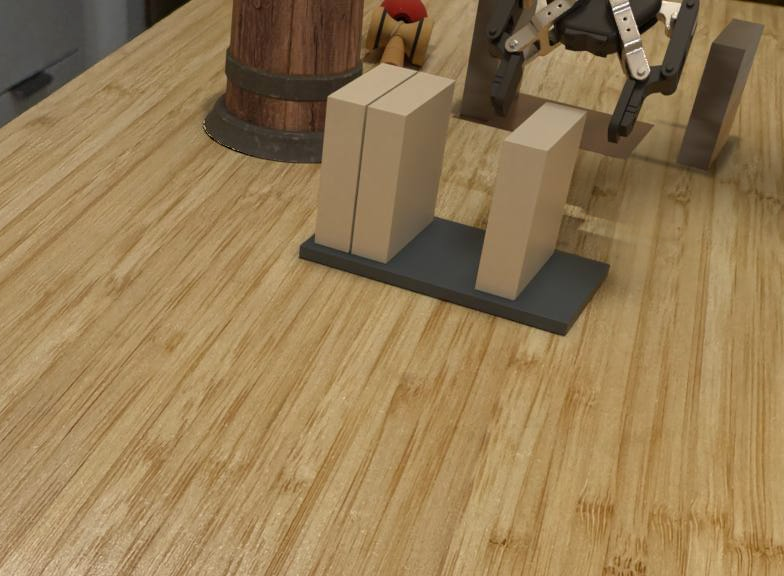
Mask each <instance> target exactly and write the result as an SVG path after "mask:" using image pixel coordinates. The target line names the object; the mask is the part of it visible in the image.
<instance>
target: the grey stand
mask: <svg viewBox="0 0 784 576" xmlns="http://www.w3.org/2000/svg"><path fill="white" fill-rule="evenodd" d="M498 1H499V0H478V2H477V8H476V14H475V21H474V26H473V32H472V38H471V45H470V50H469V51H470V52H469V57H468V63H467V68H466V69H467V70H466V76H465V81H464V87H463V92H462V99H461V105H460V109H459V110H458V111H457V112H456V113H454V114H452V115H451V118H453V119H459V120H462V121H465V122H470V123H474V124H478V125H483V126H486V127H490V128H495V129H498V130H502V131H507V132H510V133H512V132H513V131H514V130H515V129H517V128H518V127H519V126H520V125H521V124H522V123H523V122H524V121H526V120H527V119H528V118H529V117H530V116H531V115H532V114H533V113H535V112H536V111H537V110H538V109H539V108H540V107H541V106H542V105H544V104H545V103H546V102H551V103H555V104H559V105H563V106H568V107H572V108H576V109H580V110H584V111H587V116H586V120H585V124H584V129H583V133H582V137H581V141H580V145H579V149H578V150H583V151H586V152H591V153H596V154H599V155H603V156H607V157H612V158H616V159H620V160H624V161H626V160H627V159H628V158H629V156H630V155H631V154H632V153H633V152H634V150H635V149H637V147H638V146H639V144H640V143H641V142H642V141H643V140H644V139H645V137H646V136H648V134H649V133H650V131H651V130H652V129H653V128H654V127H655V123H654V124H653V123H649V122H645V121H641V120H636V123H635V125H634V128H633V130H632V132H631V133H630V134H629V135H628V137H622V136H621V137H620V140H619V142H618V144H615V143H611V142H608V126H609V123H610V120H611V118H612V115H613V114H611V113H607V112H602V111H598V110H594V109H589V108H586V107H581V106H577V105H574V104H569V103H565V102H561V101H557V100H552V99H548V98H544V97H539V96H536V95H531V94H526V93H522V92H521V88H522V83H523V77H524V72H525V68H526V66H524V67H523V68H522V71H523V75H522V78H521V80H520V83H519V85H518V88H517V90H516V93H515V95H514V98H513V101H512V103H511V106H510V108H509V111H508V113H507V116H506V117H505V118H502V117H498V116H495V111H494V107H492V104H491V98H490V88H491V85H492V83H493V80H494V78H495V75H496V72H497V70H498V67H499V65H500V62H501V60H500V59H499V58H492V57H490V56H489V54H488V45H487V39H486V37H485V29H486V27H487V24H488V22H489V20H490V18H491V16H492V14H493V11H494V9H495V7H496V5H497V3H498ZM538 2H539V1H538V0H536V1H535V2H534V4H533V5H532V6H531V8H530V9H528V10H526V9H525V8H524V10H523V12H522V14H521V16H520V18H519V21H518V23H517V25H516V27H515V29H514V32H513V34H515V33H516V32H518V31H519V30H520V29H522V28H523V27H525V26H526V25H527V24H528V23H529V22H530V20H531V18H532V17H533V16H534V15H535V14H536V13H537V12H536V11H537V8H538V7H537V6H538ZM764 29H765V24H764V23H759V22H754V21H748V20H744V19H738V18H732V19H731V20H730V21H729V23H728V24H727V25H726V26H725V27H724V28H723V30H722V31H721V32H720V33H719V34H718V35H717V36H716V37H715V39H714V40H713V41H712V42H711V45H710V48H709V52H708V55H707V58H706V61H705V64H704V68H703V71H702V74H701V78H700V80H699V85H698V88H697V91H696V95H695V99H694V101H693V105H692V108H691V112H690V115H689V119H688V122H687V125H686V128H685V131H684V135H683V139H682V142H681V144H680V148H679V152H678V155H677V158H676V162H675V164H677V165H681V166H685V167H690V168H693V169H697V170H702V171H706V172H707V171H709V169H710V168H711V166H712V165H713V163H714V161H715V160H716V159H717V157H718V156H719V154H720V152H721V151H722V150H723V148H724V147H725V145H726V143H728V140H729V137H730V134H731V130H732V128H733V124H734V121H735V118H736V115H737V112H738V109H739V106H740V103H741V100H742V97H743V94H744V91H745V88H746V84H747V81H748V79H749V76H750V72H751V69H752V66H753V63H754V60H755V57H756V54H757V51H758V49H759V45H760V41H761V39H762V35H763V32H764ZM513 34H512V35H513Z"/></svg>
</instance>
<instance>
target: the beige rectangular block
mask: <svg viewBox="0 0 784 576" xmlns="http://www.w3.org/2000/svg"><path fill="white" fill-rule="evenodd" d="M586 116H587V111H584V110H580V109H576V108H572V107H568V106H563V105H559V104H555V103H551V102H546V103H545V104H544V105H542V106H541V107H540V108H539V109H538V110H537V111H536V112H535V113H533V114H532V115H531V116H530V117H529V118H528V119H527V120H526V121H524V122H523V123H522V124H521V125H520V126H519V127H518V128H517V129H515V130H514V131H513V132H510V133H509V134H508V135H507V136H506V137H505V138H504V139H503V142H502V146H501V152H500V156H499V162H498V167H497V171H496V172H497V173H496V176H495V177H496V178H495V182H494V188H493V192H492V193H493V194H492V198H491V203H490V209H489V213H488V218H487V224H486V228H485V230H486V233H485V238H484V244H483V249H482V254H481V259H480V264H479V269H478V274H477V280H476V285H475V289H476V290H479V291H483V292H486V293H490V294H493V295H497V296H500V297H503V298H507V299H510V300H515V299H516V298H517V297H518V296H519V294H520V293H521V292H522V291H523V290H524V288H525V287H526V286H527V285H528V284H529V282H530V281H531V280H532V279H533V277H534V276H535V275H536V274H537V273H538V271H539V270H540V269H541V268H542V267H543V265H544V264H545V263H546V262H547V261H548V259H549V258H550V257H551V256H552V255H553V253H554V250H555V249H556V245H557V241H558V236H559V234H560V228H561V225H562V220H563V217H564V212H565V206H566V204H567V199H568V195H569V191H570V187H571V182H572V179H573V174H574V171H575V165H576V161H577V158H578V154H579V150H580V149H579V145H580V141H581V137H582V133H583V129H584V124H585V120H586Z"/></svg>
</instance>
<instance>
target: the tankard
mask: <svg viewBox="0 0 784 576" xmlns="http://www.w3.org/2000/svg"><path fill="white" fill-rule="evenodd" d="M364 8H365V0H232V11H231V24H230V37H229V38H230V39H229V46H228V47H227V49H226V51H225V61H224V62H225V64H224V65H225V66H224V74H225V76H226V87H225V92H224V93H222V94H221V95H220V96H219V97H218V98H217V99H216V101H215V102H214V104H213V107H212V109H211V111H209V112H208V113H209V114H208V113H207V114H208V115H207V114H206V115H207V116H206V115H205V116H206V118H205V117H204V118H205V123H204V125H205V127H206V131H207V132H208V134H210V135H211V136H212V138H214V139H215V140H216V141H217V142H216V141H215V140H214V141H215V142H216V143H218V141H219V142H220V143H221V144H224V145H226V146H229V147H230V148H234V149H235V150H239V151H240V152H243V153H242V154H244V153H245V154H244V155H247V154H248V155H247V156H251V155H253V156H252V157H254V158H255V157H256V158H259V159H264V160H270V161H276V162H277V161H278V162H287V163H288V162H289V163H300V164H301V163H302V164H305V163H306V164H307V163H314V164H315V163H317V164H318V163H322V153H323V142H324V131H325V120H326V109H327V97H328V96H329V95H331V94H332V93H334V92H335V91H337V90H339V89H340V88H342V87H344V86H345V85H347V84H349V83H350V82H352V81H354V80H355V79H357V78H359V77H360V76H362V75H363V71H364V70H363V69H364V63H363V60H362V59H361V52H362V37H363V23H364ZM208 134H207V135H208ZM221 144H220V145H221ZM240 152H239V153H240Z"/></svg>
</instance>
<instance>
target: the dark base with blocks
mask: <svg viewBox="0 0 784 576" xmlns="http://www.w3.org/2000/svg"><path fill="white" fill-rule="evenodd" d="M456 82H457V81H456V79H452V78H448V77H445V76H444V77H443V76H439V75H436V74H431V73H426V72H422V71H419V72H418V71H417V70H414V69H410V68H405V67H403V68H402V67H398V66H393V65H389V64H385V63H382V64H380V65H379V64H378V65H377V66H375V67H373V68H372V69H370V70H369V71H367V72H365V73H364V74H363V73H362V76H360V77H359V78H357V79H355V80H354V81H352V82H350V83H349V84H347V85H345V86H344V87H342V88H340V89H339V90H337V91H335V92H334V93H332V94H331V95H329V96H328V97H327V109H326V120H325V131H324V142H323V153H322V162H321V164H320V165H321V166H320V177H319V186H318V188H319V189H318V200H317V212H316V221H315V232H314V233H313V234H312V235H311V236H310V237H308V238H307V239H306V240H305V241H303V242H302V243H301V244H299V250H298V251H299V252H298V257H299V258H301V259H303V260H309V261H312V262H314V263H318V264H322V265H325V266H328V267H332V268H335V269H338V270H342V271H345V272H348V273H352V274H356V275H358V276H362V277H365V278H369V279H371V280H375V281H379V282H382V283H386V284H389V285H392V286H396V287H400V288H403V289H406V290H409V291H413V292H416V293H419V294H423V295H426V296H430V297H433V298H436V299H440V300H444V301H447V302H450V303H453V304H457V305H460V306H464V307H466V308H471V309H473V310H477V311H481V312H484V313H487V314H491V315H494V316H497V317H500V318H503V319H507V320H511V321H513V322H517V323H520V324H525V325H528V326H531V327H535V328H538V329H541V330H544V331H547V332H551V333H554V334H558V335H561V336H566V335H567V333H568V332H569V330H570V329H571V328H572V326H573V325H574V324H575V322H576V321H577V319H578V318H579V316H580V315H581V313H582V312H583V311H584V309H585V308H586V306H587V305H588V304H589V302H590V301H591V300H592V298H593V297H594V295H595V294H596V293H597V291H598V290H599V288H600V287H601V286H602V284H603V283H604V282H605V280H606V278H608V276H609V272H610V268H611V264H610V263H606V262H603V261H599V260H595V259H592V258H588V257H585V256H582V255H577V254H574V253H570V252H566V251H563V250H559V249H556V248H555V250H554V253H553V255H552V256H551V257H550V258H549V259H548V261H547V262H546V263H545V264H544V265H543V267H542V268H541V269H540V270H539V271H538V273H537V274H536V275H535V276H534V277H533V279H532V280H531V281H530V282H529V284H528V285H527V286H526V287H525V288H524V290H523V291H522V292H521V293H520V294H519V296H518V297H517V298H516V299H515V300H510V299H507V298H503V297H500V296H497V295H493V294H490V293H486V292H483V291H479V290H476V289H475V285H476V280H477V274H478V269H479V264H480V259H481V254H482V249H483V244H484V238H485V233H486V229H482V228H479V227H475V226H472V225H468V224H464V223H462V222H461V223H460V222H458V221H454V220H451V219H447V218H443V217H439V216H436V215H435V213H436V206H437V200H438V194H439V188H440V181H441V175H442V171H443V170H442V168H443V163H444V157H445V151H446V144H447V137H448V132H449V125H450V120H451V114H452V108H453V107H452V106H453V101H454V95H455V89H456Z"/></svg>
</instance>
